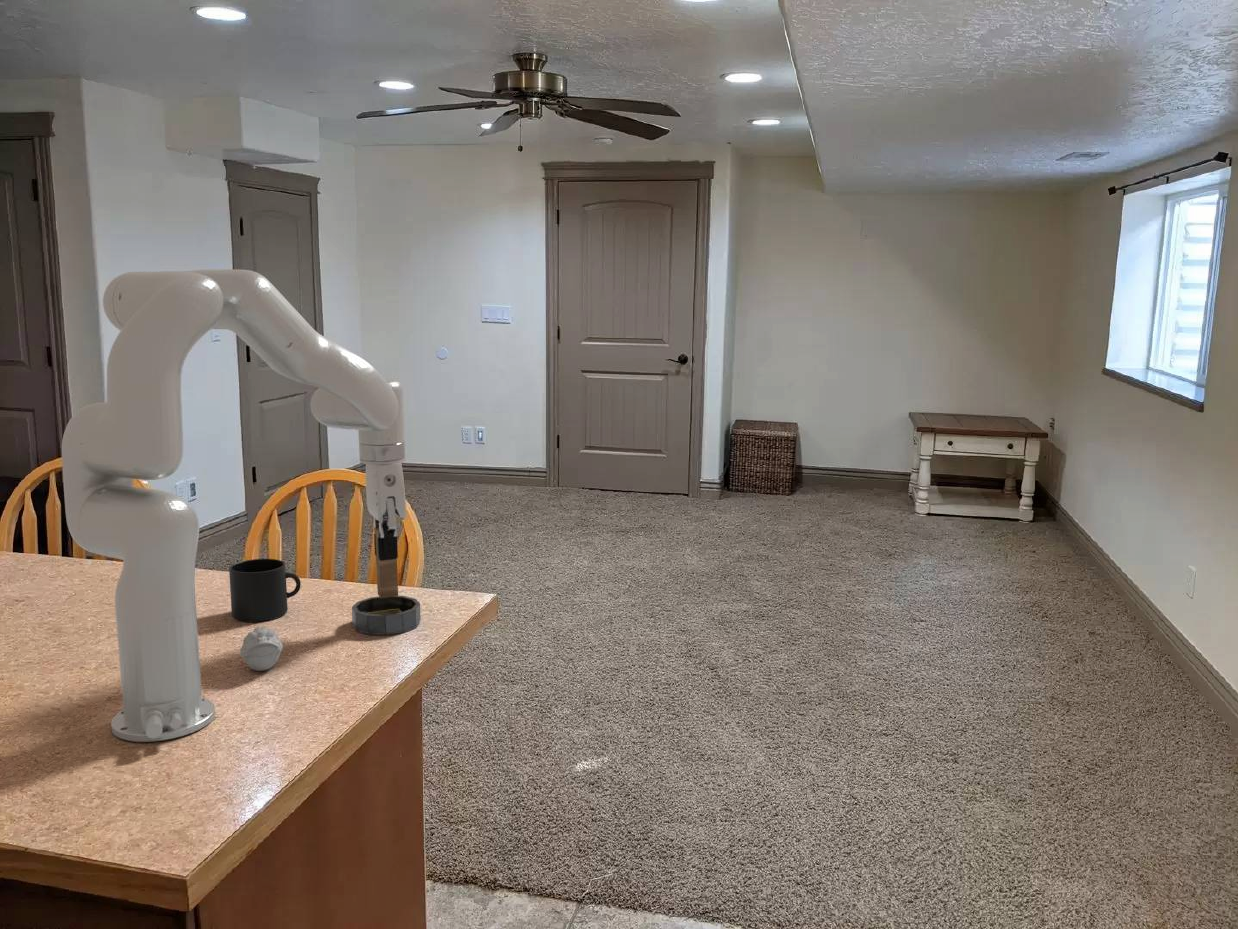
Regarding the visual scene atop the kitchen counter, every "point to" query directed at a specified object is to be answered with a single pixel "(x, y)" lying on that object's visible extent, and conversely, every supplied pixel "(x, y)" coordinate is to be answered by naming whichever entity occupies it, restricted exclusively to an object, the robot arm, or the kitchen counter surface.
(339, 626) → the kitchen counter surface
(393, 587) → the brown rectangular bar
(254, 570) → the mug
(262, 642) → the frog figurine
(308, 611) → the kitchen counter surface
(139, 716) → the robot arm
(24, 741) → the kitchen counter surface
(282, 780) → the kitchen counter surface
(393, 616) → the dark grey round tray
